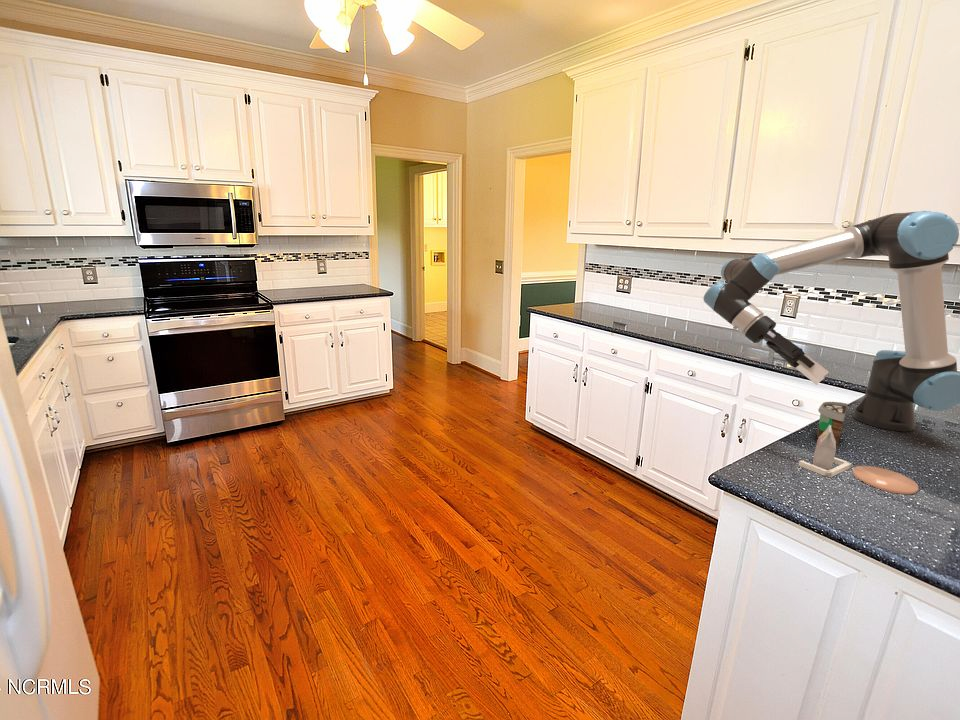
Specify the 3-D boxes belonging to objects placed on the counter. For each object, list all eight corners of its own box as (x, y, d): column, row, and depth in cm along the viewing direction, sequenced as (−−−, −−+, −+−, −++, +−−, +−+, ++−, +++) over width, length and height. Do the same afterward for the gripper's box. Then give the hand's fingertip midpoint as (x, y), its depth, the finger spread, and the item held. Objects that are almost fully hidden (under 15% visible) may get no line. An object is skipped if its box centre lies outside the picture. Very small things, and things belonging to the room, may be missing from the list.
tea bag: (830, 463, 122) (839, 426, 119) (830, 473, 117) (839, 435, 114) (813, 458, 124) (821, 422, 121) (812, 468, 119) (821, 430, 116)
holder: (820, 456, 125) (821, 452, 125) (850, 467, 120) (852, 463, 119) (798, 465, 120) (799, 461, 119) (829, 477, 114) (830, 473, 114)
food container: (814, 429, 143) (821, 398, 141) (839, 435, 140) (847, 403, 137) (809, 442, 134) (817, 408, 132) (836, 448, 130) (845, 414, 128)
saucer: (865, 464, 122) (866, 461, 121) (926, 486, 112) (926, 483, 112) (843, 475, 115) (843, 472, 115) (905, 499, 106) (906, 496, 105)
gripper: (746, 341, 144) (808, 392, 135) (740, 326, 123) (812, 384, 114) (766, 323, 142) (830, 373, 132) (763, 304, 121) (839, 362, 111)
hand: (822, 378), depth 123 cm, fingers open, 13 cm apart
